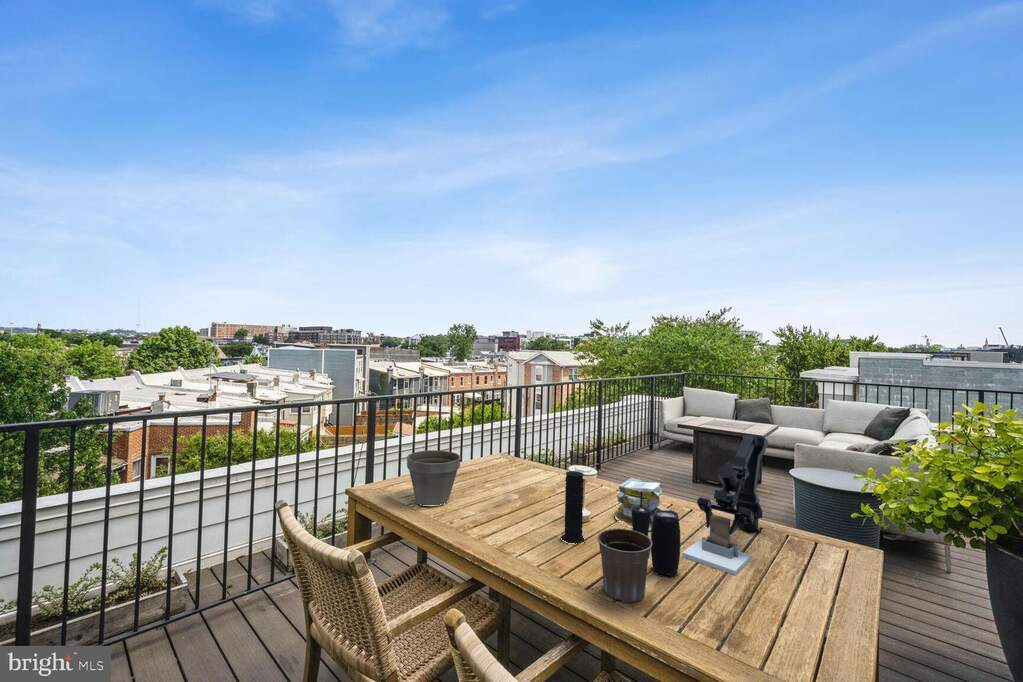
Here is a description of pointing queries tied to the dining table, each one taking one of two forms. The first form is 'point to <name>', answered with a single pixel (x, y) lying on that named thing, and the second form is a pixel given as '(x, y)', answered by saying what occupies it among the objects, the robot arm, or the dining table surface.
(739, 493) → the robot arm
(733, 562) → the white base with frame
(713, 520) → the wooden rectangular pillar
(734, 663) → the dining table surface
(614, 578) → the plant pot
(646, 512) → the drinking cup
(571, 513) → the handle grip
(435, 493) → the plant pot
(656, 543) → the portable speaker
